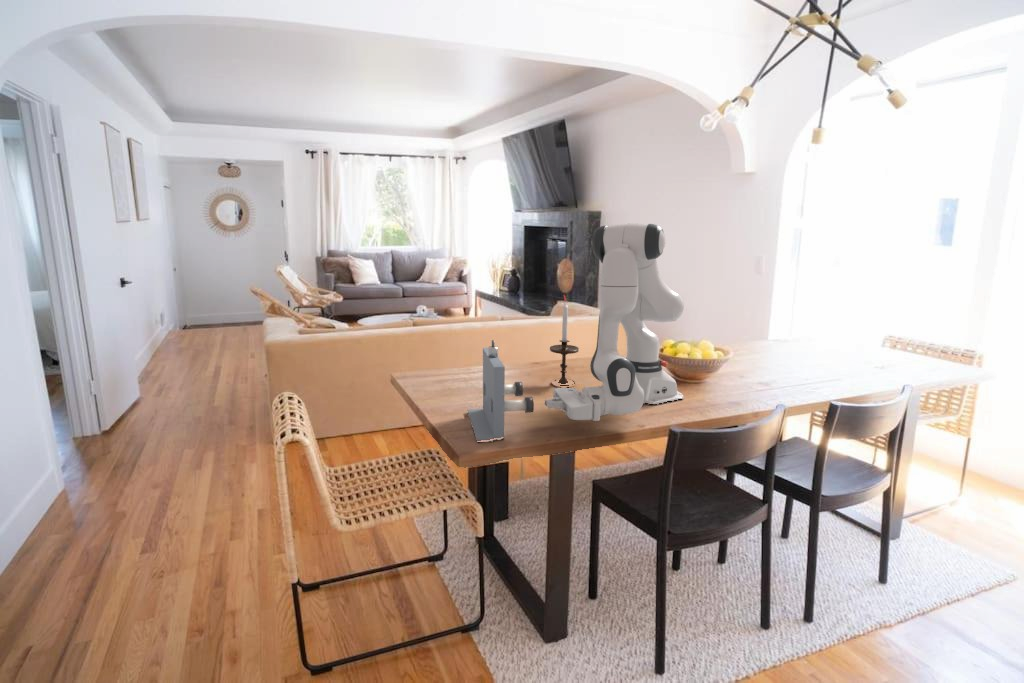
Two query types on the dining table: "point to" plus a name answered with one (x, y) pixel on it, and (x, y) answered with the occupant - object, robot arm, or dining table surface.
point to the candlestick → (564, 346)
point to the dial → (492, 351)
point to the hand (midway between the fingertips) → (545, 403)
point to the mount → (490, 401)
